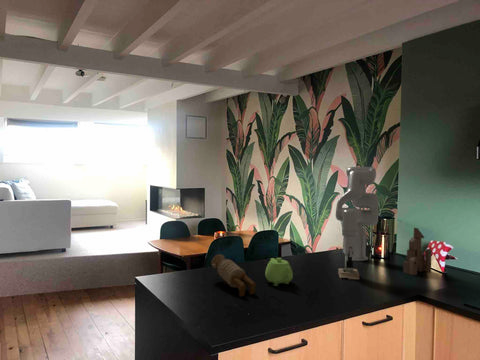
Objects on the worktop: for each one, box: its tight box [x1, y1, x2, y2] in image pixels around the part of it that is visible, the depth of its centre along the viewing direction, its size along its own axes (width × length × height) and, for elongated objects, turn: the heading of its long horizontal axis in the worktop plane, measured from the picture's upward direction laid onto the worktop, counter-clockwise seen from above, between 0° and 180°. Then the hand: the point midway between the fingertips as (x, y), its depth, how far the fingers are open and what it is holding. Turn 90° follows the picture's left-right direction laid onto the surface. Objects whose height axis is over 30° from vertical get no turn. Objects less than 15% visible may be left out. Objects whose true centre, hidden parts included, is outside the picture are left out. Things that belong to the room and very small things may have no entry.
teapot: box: [264, 257, 294, 287], centre depth 201 cm, size 20×13×13 cm
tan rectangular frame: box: [337, 267, 360, 280], centre depth 213 cm, size 10×10×3 cm
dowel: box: [344, 253, 354, 272], centre depth 213 cm, size 4×4×12 cm
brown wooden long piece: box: [210, 254, 257, 297], centre depth 193 cm, size 10×12×30 cm
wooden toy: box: [402, 227, 432, 276], centre depth 222 cm, size 16×7×25 cm, turn 117°
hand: (348, 266), depth 213 cm, fingers closed on dowel, 4 cm apart
